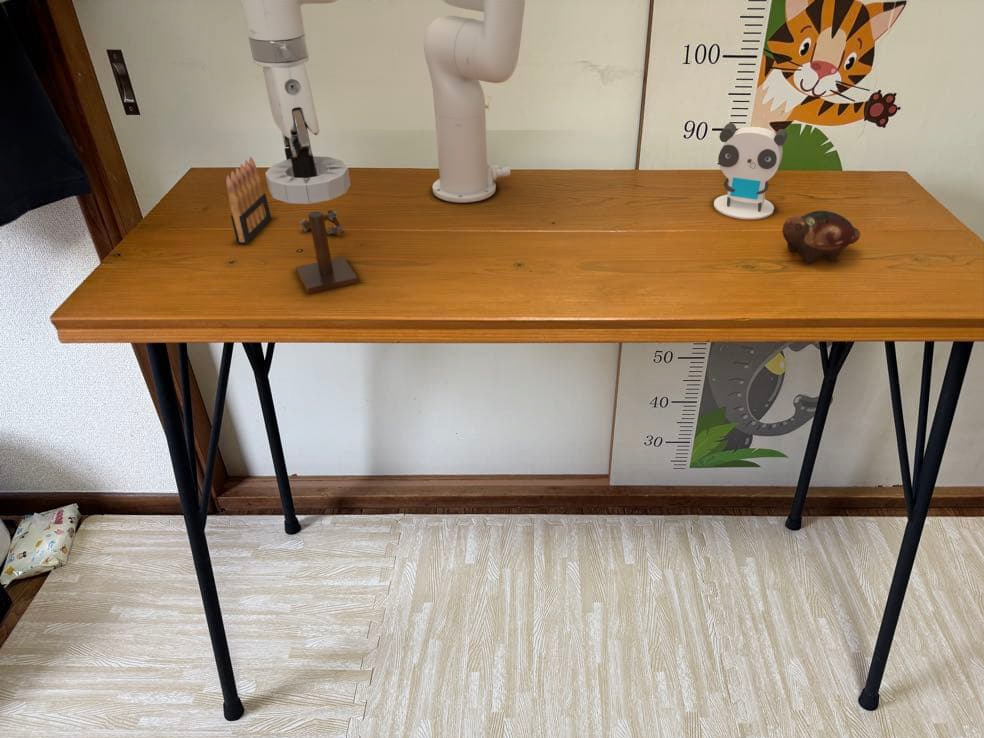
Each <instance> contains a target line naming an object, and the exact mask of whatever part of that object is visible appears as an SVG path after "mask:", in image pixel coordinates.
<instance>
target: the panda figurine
mask: <svg viewBox="0 0 984 738" xmlns="http://www.w3.org/2000/svg"><path fill="white" fill-rule="evenodd" d="M718 138H719V140H720V141H721V142H722V143H724V144H723V145H722V147H721V149H720V151H719V153H718V158H717V162H718V166H719V168H720V171H721V172H722V174H723V175H724V177H726V179H725V180H724V181H723V186H724V189H725V190H727V194H724V195H720V196H718V197H716V198H715V199H714V202H713V207H714V209H715V210H716V211H717V212H719V213H720V214H722V215H724V216H727V217H730V218H734V219H738V220H739V219H740V220H760V219H765V218H768V217H770V216H771V215H772V214H773V213H774V210H775V206H774V204H773V203H772V202H771V201H769V200H767V199H766V192H767V191H768V190H769V182H768V181H769V180H770V179H772V178H773V177H774V176H775V175H776V173H777V171H778V170H779V167H780V165H781V163H782V160H783V146H784V145H785V142H786V140H787V138H788V131H787V130H786V129H785V128H784V129H783V128H779V129H778V130H777V131H776V132H774V131H773V130H772V129H769V128H765V127H760V126H744V127H740V128H738V129H737V126H736V124H734V123H733V122H728V123H726V125H724V127H723V128H722V130H721V131H720V133H719V137H718Z"/></svg>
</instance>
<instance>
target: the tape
mask: <svg viewBox="0 0 984 738" xmlns="http://www.w3.org/2000/svg"><path fill="white" fill-rule="evenodd" d="M313 159H314V165H315V170H316V177H310V178H294V172H293V167H292V162H291V159H288V160H287V159H285V160H282V161H280V162H277V163H274V164H272V165H271V166H269V168H268V169H267V170H266V171H265V178H266V183H267V188H268V193H270V195H271V197H272V199H274V200H277V201H280V202H283V203H287V204H299V205H301V204H303V205H310V204H316V203H321V202H327V201H332V200H334V199H336V198H338V197H340V196H342V195H345V194H346V193H347V192H348V190H349V189H350V187H351V180H350V173H349V167H348V165H346V163H345V162H344V161H343V160H341V159H337V158H333V157H329V156H320V155H319V156H317V155H316V156H315V155H313Z"/></svg>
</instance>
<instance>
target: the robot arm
mask: <svg viewBox="0 0 984 738" xmlns="http://www.w3.org/2000/svg"><path fill="white" fill-rule="evenodd" d="M240 1H241V6H242V11H243V15H244V21H245V25H246V30H247V34H248V40H249V47H250V50H251V55H252V59H253V64H255V65H257V66H260V67H262V72H263V76H264V81H265V87H266V92H267V97H268V101H269V106H270V110H271V114H272V118H273V121H274V123H275V124H276V126H277V128H279V130H280V132H281V134H282V135H281V136H282V140H283V145H284V147H285V148H284V149H283V150H284V153H285V158H286V159H285V160H288V159H291V162H292V167H293V172H294V178H310V177H316V170H315V165H314V159H313V156H314V154H313V150H312V146H311V145H312V144H311V140H310V135H309V131H310V133H311V134H312V135H314V136H318V135H319V133H320V127H319V123H318V117H317V113H316V106H315V103H314V102H315V101H314V98H313V93H312V88H311V84H310V79H309V76H308V72H307V69H306V66H305V63H307V62H308V61H309V60H310V59H309V58H310V57H309V51H308V45H307V39H306V33H305V26H304V21H303V15H302V9H301V6H302V5H307V4H318V5H319V4H322V5H323V4H331V3H335V2H338V0H240ZM442 1H443V2H444V3H445V4H447V5H449V6H451V7H453V8H459V9H464V10H470V11H475V12H482V13H483V20H481V19H474V18H468V17H463V16H457V15H444V16H440V17H437V18H435V19H434V20H432V21H431V23H429V25H428V26H427V28H426V29H425V33H424V37H423V51H424V57H425V60H426V61H425V62H426V65H427V68H428V72H429V77H430V81H431V87H432V95H433V109H434V119H435V120H434V121H435V122H434V123H435V131H436V132H435V133H436V148H437V160H438V173H439V178H438V179H437V180H435V181H434V182H433V183H432V194H433V195H434V196H435V197H437V198H438V199H440V200H442V201H446V202H450V203H461V204H462V203H463V204H464V203H465V204H467V203H476V202H480V201H483V200H486V199H488V198H490V197H492V196H493V195H494V194H495V193H496V190H497V184H496V182H495V181H497V179H499V178H507V177H510V176H511V168H510V167H509V166H503V167H500V166H499V164H493V165H488V147H487V146H488V145H487V118H486V116H487V115H486V114H487V113H486V99H485V94H484V89H483V87H482V85H481V82H486V83H491V84H501V83H505V82H507V81H508V80H509V79H510V78H511V77H512V75H513V74H514V72H515V69H516V68H517V66H518V65H517V64H518V60H519V55H520V50H521V49H520V48H521V40H522V33H523V23H524V17H525V8H526V7H525V6H526V0H442Z"/></svg>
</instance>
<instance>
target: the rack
mask: <svg viewBox="0 0 984 738" xmlns="http://www.w3.org/2000/svg"><path fill="white" fill-rule="evenodd" d="M323 215H324V212H322V211H319V210H315V211H311V212H309V213H308V220H309V221H310V226H311V228H310V230H311V236H312V241H313V246H314V252H315V258H316V262H313V263H308V264H304V265H298V266H296V267H295V270H296V273H297V275H298V277H299V278H300V281H301V282H302V284H303V287H304V288H305V290H306V291H307V293H308V295H310V294H311V295H312V294H315V293H319V292H323V291H329V290H332V289H336V288H337V289H338V288H342V287H346V286H351V285H355V284H359V278H358V276H357V274H356V273H355V272H354V269H353V268H352V267H351V265H350V264H349V263H348V261H347V260H346V258H345V257H344V256H341V257H336V258H332V256H331V251H330V246H329V245H330V244H329V239H328V233H326V231H327V227H326V223H325V222H326V221H325V222H324V216H323Z"/></svg>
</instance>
